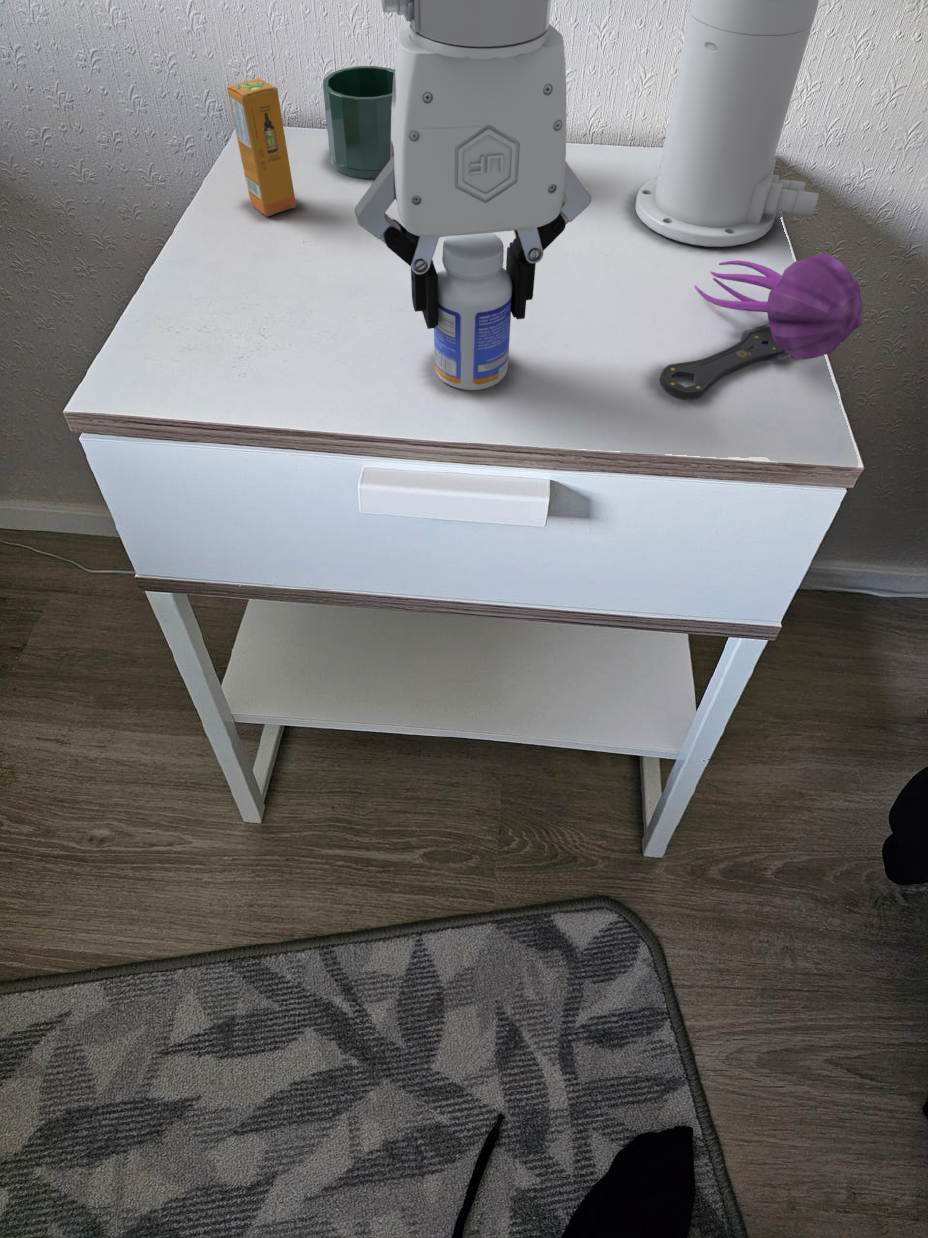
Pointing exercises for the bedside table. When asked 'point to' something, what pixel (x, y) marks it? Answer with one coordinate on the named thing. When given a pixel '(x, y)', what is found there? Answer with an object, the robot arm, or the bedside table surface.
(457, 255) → the pill bottle
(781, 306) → the jellyfish
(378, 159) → the cup
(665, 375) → the hex hole wrench
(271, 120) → the supplement box
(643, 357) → the bedside table surface
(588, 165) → the bedside table surface
